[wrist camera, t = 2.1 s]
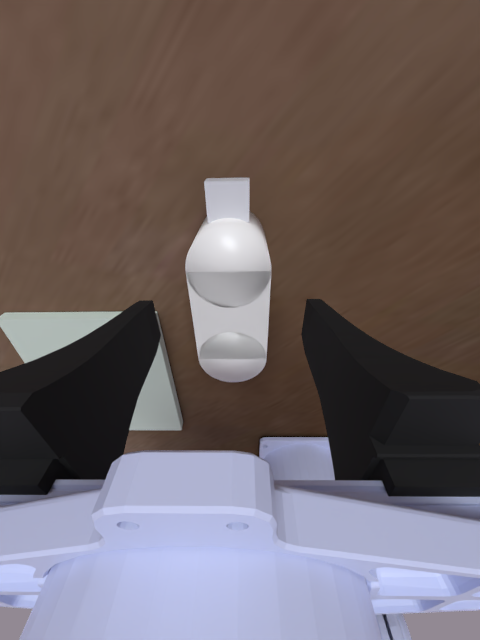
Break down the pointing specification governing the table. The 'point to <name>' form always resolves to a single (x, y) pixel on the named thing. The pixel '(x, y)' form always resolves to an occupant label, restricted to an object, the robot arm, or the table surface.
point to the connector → (230, 284)
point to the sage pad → (67, 327)
